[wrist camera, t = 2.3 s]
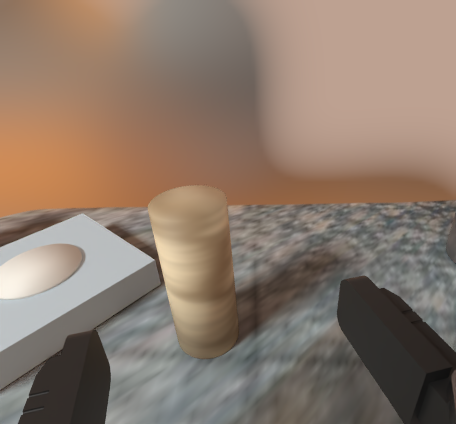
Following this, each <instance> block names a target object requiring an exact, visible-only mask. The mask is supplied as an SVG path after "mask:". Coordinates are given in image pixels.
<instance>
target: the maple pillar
mask: <svg viewBox="0 0 456 424" xmlns="http://www.w3.org/2000/svg"><path fill="white" fill-rule="evenodd" d="M148 212H149V216H150V221H151V225H152V229H153V234H154V238H155V242H156V247H157V251H158V255H159V260H160V264H161V268H162V272H163V277H164V281H165V285H166V290H167V294H168V298H169V303H170V307H171V311H172V316H173V320H174V324H175V329H176V333H177V337H178V342H179V345H180V347H181V348H182V350H183V351H184V352H185V353H187V354H188V355H190V356H192V357H194V358H198V359H211V358H215V357H218V356H221V355H223V354H224V353H226V352H227V351H229V350H230V349H231V348H232V347H233V346H234V344H235V343H236V341H237V338H238V335H239V325H238V315H237V304H236V293H235V283H234V272H233V261H232V251H231V240H230V229H229V219H228V208H227V198H226V195H225V193H224V192H223V191H221V190H220V189H218V188H215V187H211V186H204V185H192V186H184V187H179V188H174V189H171V190H168V191H166V192H163V193H161V194H160V195H158V196H156V197H155V198H154V199H152V201H151V202H150V203H149V205H148Z"/></svg>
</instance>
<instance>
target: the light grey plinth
mask: <svg viewBox="0 0 456 424" xmlns="http://www.w3.org/2000/svg"><path fill="white" fill-rule="evenodd" d="M160 284H161V283H160V279H159V274H158V270H157V266H156V262H155V260H154V259H153V258H151V257H150V256H148V255H147V254H145V253H143V252H142V251H140V250H139V249H137V248H136V247H134V246H133V245H131V244H129V243H128V242H126V241H125V240H123V239H122V238H120V237H119V236H117V235H115V234H114V233H112V232H111V231H109V230H108V229H106V228H105V227H103V226H102V225H100V224H98V223H97V222H95V221H94V220H92V219H91V218H89V217H88V216H86V215H84V214H83V213H82V214H80V215H77V216H75V217H72V218H70V219H68V220H65V221H63V222H60V223H58V224H55V225H53V226H51V227H48V228H46V229H43V230H41V231H38V232H36V233H34V234H31V235H29V236H26V237H24V238H22V239H19V240H17V241H14V242H12V243H9V244H7V245H5V246H2V247H0V390H1V389H2V388H4V387H5V386H7V385H8V384H10V383H11V382H13V381H15V380H16V379H18V378H19V377H21V376H22V375H24V374H25V373H27V372H28V371H30V370H31V369H33V368H34V367H36V366H37V365H39V364H40V363H42V362H43V361H45V360H46V359H48V358H49V357H51V356H52V355H54V354H55V353H57V352H59V351H60V350H62V349H63V346H64V343H65V340H66V338H67V336H68V335H71V334H76V333H81V332H86V331H90V330H92V329H93V328H95V327H96V326H98V325H100V324H101V323H103V322H104V321H106V320H107V319H109V318H110V317H112V316H113V315H115V314H116V313H118V312H119V311H121V310H122V309H124V308H125V307H127V306H128V305H130V304H131V303H133V302H134V301H136V300H137V299H139V298H140V297H142V296H144V295H145V294H147V293H148V292H150V291H151V290H153V289H154V288H156V287H157V286H159V285H160Z"/></svg>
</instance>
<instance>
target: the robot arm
mask: <svg viewBox="0 0 456 424" xmlns="http://www.w3.org/2000/svg"><path fill="white" fill-rule="evenodd" d="M446 251H447V254H448V256H449V257H450V258H451V260H452V261H453V262H454V263H455V264H456V213H455V217H454V220H453V223H452V227H451V230H450V233H449V237H448V240H447V243H446ZM337 318H338V322H339V325H340V327H341V330H342V331H343V333H344V334H345V336H346V337H347V339H348V340H349V342H350V343H351V345H352V346H353V348H354V349H355V351H356V352H357V354H358V355H359V357H360V358H361V360H362V361H363V363H364V364H365V366H366V367H367V369H368V370H369V372H370V373H371V375H372V376H373V378H374V379H375V381H376V382H377V383H378V385H379V386H380V388H381V389H382V391H383V392H384V394H385V395H386V397H387V398H388V400H389V401H390V403H391V404H392V406H393V407H394V409H395V410H396V412H397V413H398V415H399V416H400V418H401V419H402V421H403V422H404V424H456V352H455V351H454V350H453V349H452V348H451V347H450V346H449V345H448V344H447V343H446V342H445V341H444V340H443V339H442V338H441V337H440V336H439V335H438V334H437V333H436V332H435V331H434V330H433V329H432V328H431V327H430V326H429V325H428V324H427V323H426V322H423V321H422V319H421V318H420V317H419V316H418V315H417V314H416V313H415V312H413V311H412V309H411V308H410V307H409V306H408V305H407V304H406V303H405V302H404V301H403V300H402V299H401V298H400V297H399V296H397V295H396V294H394V293H392V292H390V291H389V290H387V289H385V288H381V289H379V288H378V287H377V286H376V285H375V284H374V283H373V282H372V281H371V280H370V279H369V278H368V277H366V276H359V277H355V278H350V279H345V280H342V281H341V284H340V292H339V301H338V309H337ZM110 382H111V373H110V365H109V362H108V359H107V356H106V354H105V351H104V348H103V346H102V343H101V340H100V338H99V335H98V333H97V331H96V330H91V331H86V332H81V333H76V334H71V335H68V336H67V338H66V340H65V343H64V346H63V349H62V352H61V355H60V356H56V357H51V358H49V359H48V361H47V362H46V363H45V365H44V366H43V367H42V369H41V370H40V371H39V372H38V374H37V375H36V377H35V380H34V382H33V385H32V388H31V390H30V393H29V398H28V399H27V401H26V404H25V406H24V409H23V415H21V417H20V420H19V422H18V424H105V419H106V411H107V404H108V397H109V390H110Z"/></svg>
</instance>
